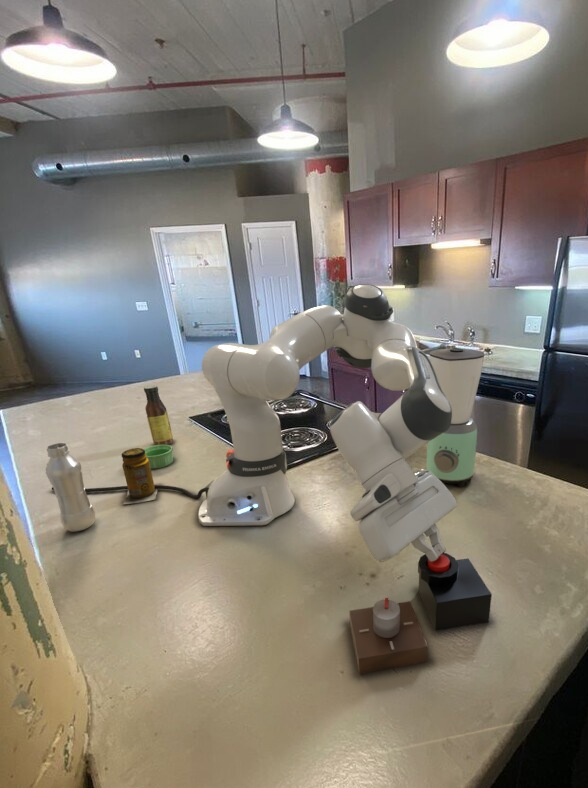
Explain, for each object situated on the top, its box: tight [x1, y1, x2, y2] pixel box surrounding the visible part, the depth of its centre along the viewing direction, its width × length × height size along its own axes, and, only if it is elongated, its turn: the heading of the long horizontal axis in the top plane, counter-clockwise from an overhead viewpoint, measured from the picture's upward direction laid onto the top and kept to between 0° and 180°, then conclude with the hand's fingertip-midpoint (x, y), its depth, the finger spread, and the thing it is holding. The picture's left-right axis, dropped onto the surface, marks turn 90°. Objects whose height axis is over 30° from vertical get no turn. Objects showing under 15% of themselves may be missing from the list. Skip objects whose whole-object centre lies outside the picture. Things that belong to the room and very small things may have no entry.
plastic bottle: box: [45, 442, 97, 532], centre depth 91 cm, size 6×7×20 cm
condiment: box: [121, 447, 159, 505], centre depth 106 cm, size 7×8×12 cm
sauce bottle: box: [143, 385, 174, 446], centre depth 138 cm, size 6×6×20 cm
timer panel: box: [348, 600, 429, 675], centre depth 63 cm, size 10×9×3 cm
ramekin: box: [143, 444, 174, 470], centre depth 126 cm, size 9×9×4 cm
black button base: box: [417, 552, 492, 632], centre depth 69 cm, size 10×10×8 cm
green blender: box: [425, 347, 486, 487], centre depth 110 cm, size 19×13×35 cm
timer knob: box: [372, 597, 400, 638], centre depth 62 cm, size 4×4×4 cm
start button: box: [427, 554, 450, 573], centre depth 69 cm, size 4×4×2 cm
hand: (438, 556), depth 69 cm, fingers closed, pressing on start button
